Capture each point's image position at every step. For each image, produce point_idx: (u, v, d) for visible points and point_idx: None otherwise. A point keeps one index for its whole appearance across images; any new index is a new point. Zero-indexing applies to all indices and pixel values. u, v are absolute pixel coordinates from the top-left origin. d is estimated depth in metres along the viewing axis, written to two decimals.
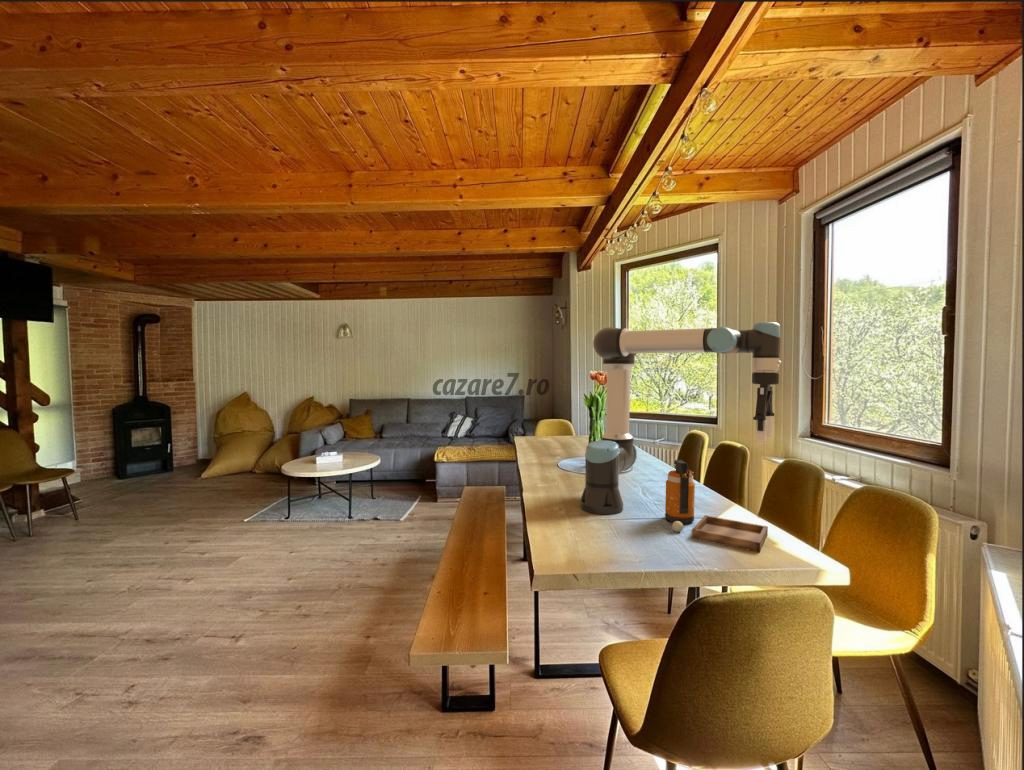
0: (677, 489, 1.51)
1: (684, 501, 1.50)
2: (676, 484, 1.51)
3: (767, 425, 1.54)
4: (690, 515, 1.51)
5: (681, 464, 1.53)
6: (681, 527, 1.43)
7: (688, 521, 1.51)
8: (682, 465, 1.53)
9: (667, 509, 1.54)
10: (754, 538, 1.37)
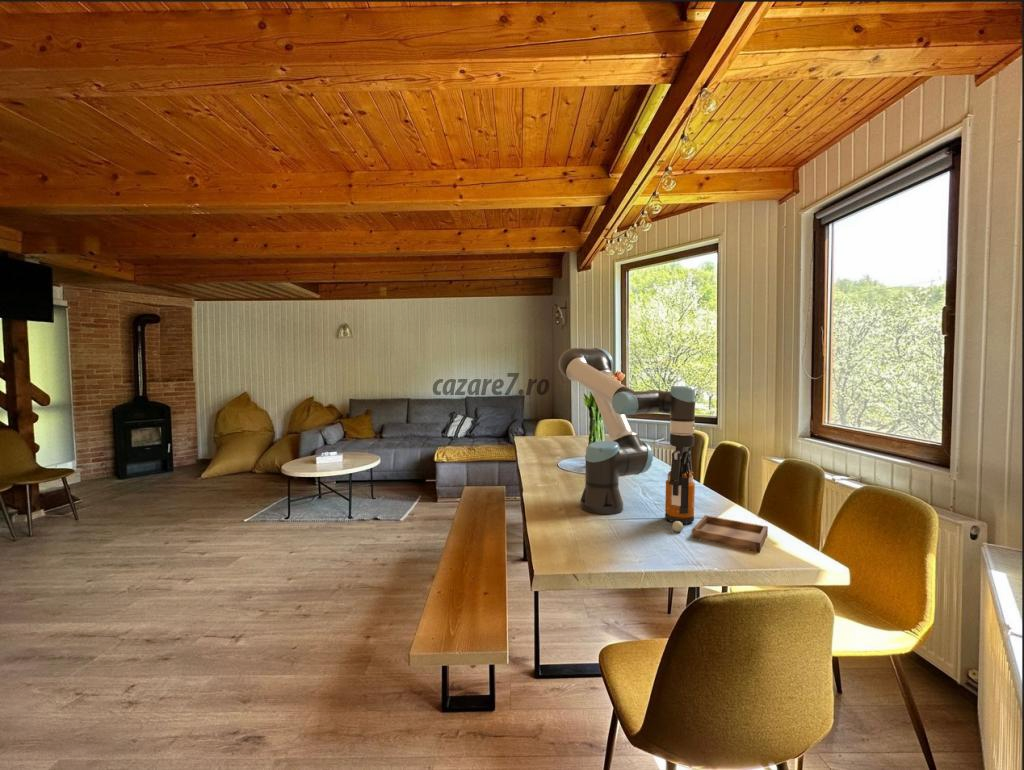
0: None
1: (684, 501, 1.50)
2: None
3: None
4: (690, 515, 1.51)
5: None
6: (681, 527, 1.43)
7: (688, 521, 1.51)
8: None
9: (666, 509, 1.54)
10: (754, 538, 1.37)
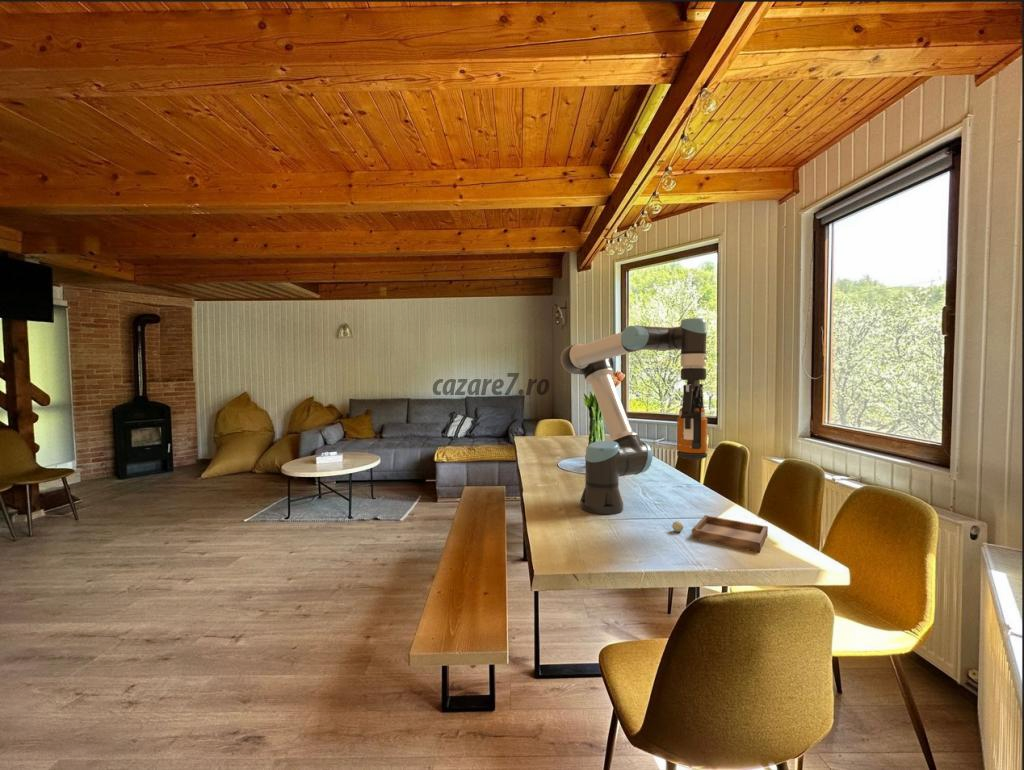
0: None
1: (696, 435, 1.45)
2: None
3: None
4: (703, 450, 1.47)
5: None
6: (681, 527, 1.43)
7: (701, 457, 1.46)
8: None
9: (678, 446, 1.50)
10: (754, 538, 1.37)
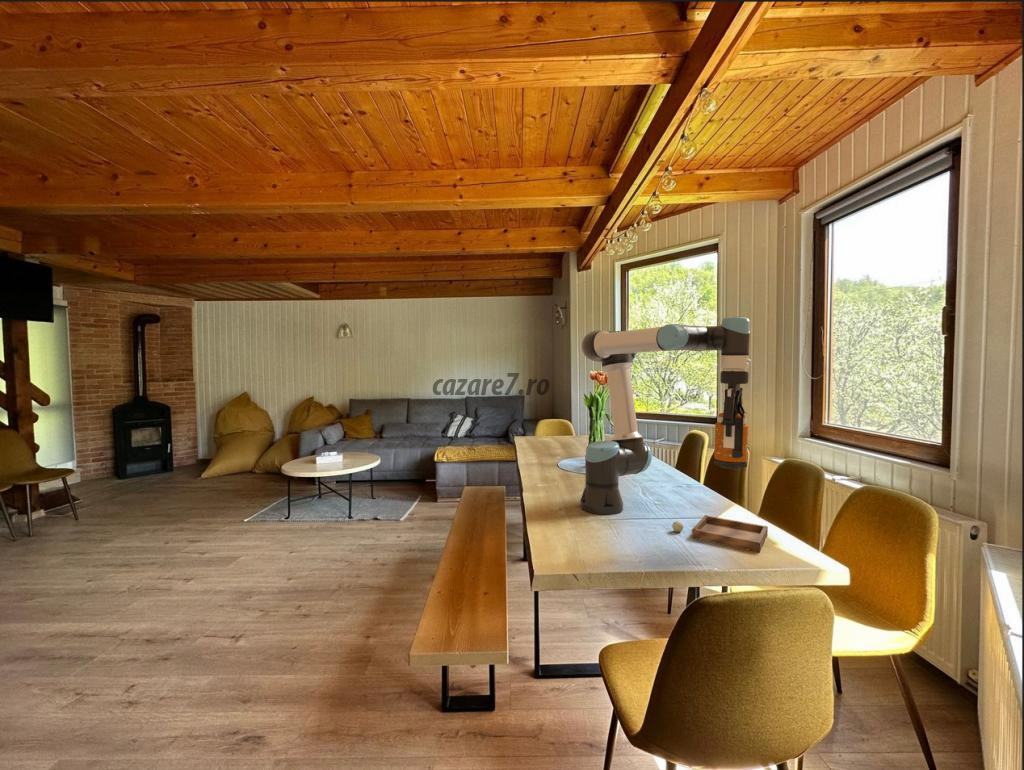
0: None
1: (738, 443, 1.35)
2: None
3: None
4: (744, 460, 1.37)
5: None
6: (681, 527, 1.43)
7: (741, 466, 1.37)
8: None
9: (717, 454, 1.40)
10: (754, 538, 1.37)
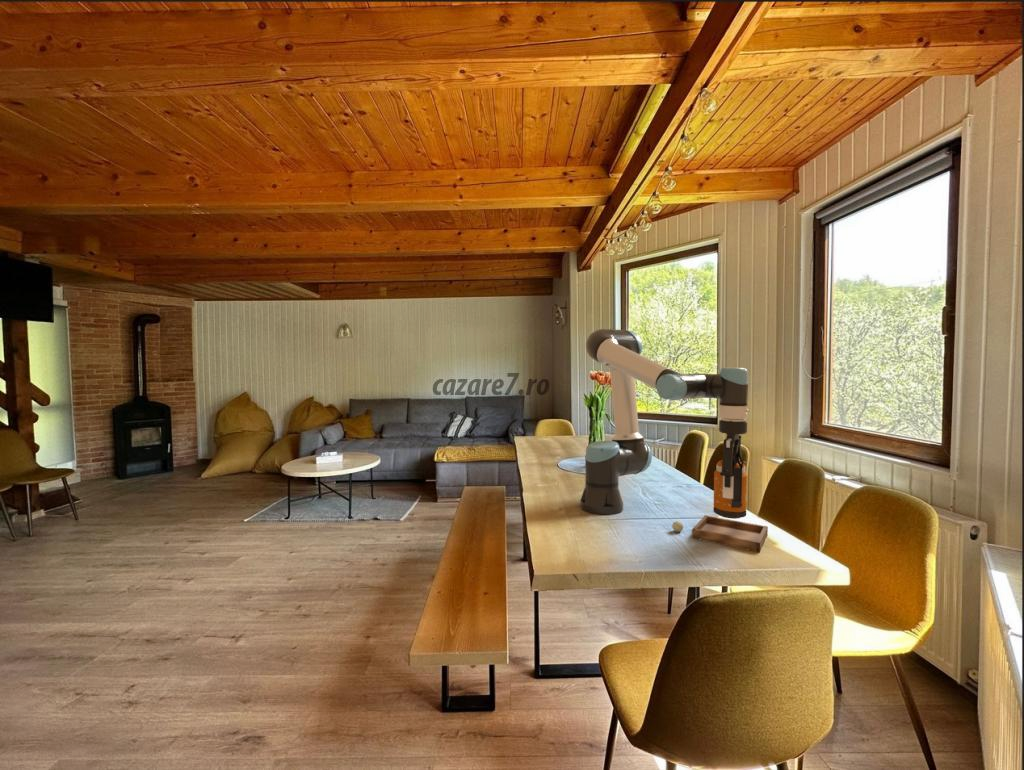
0: None
1: (737, 493, 1.36)
2: None
3: None
4: (743, 509, 1.37)
5: None
6: (681, 527, 1.43)
7: (741, 516, 1.37)
8: None
9: (716, 502, 1.40)
10: (754, 538, 1.37)
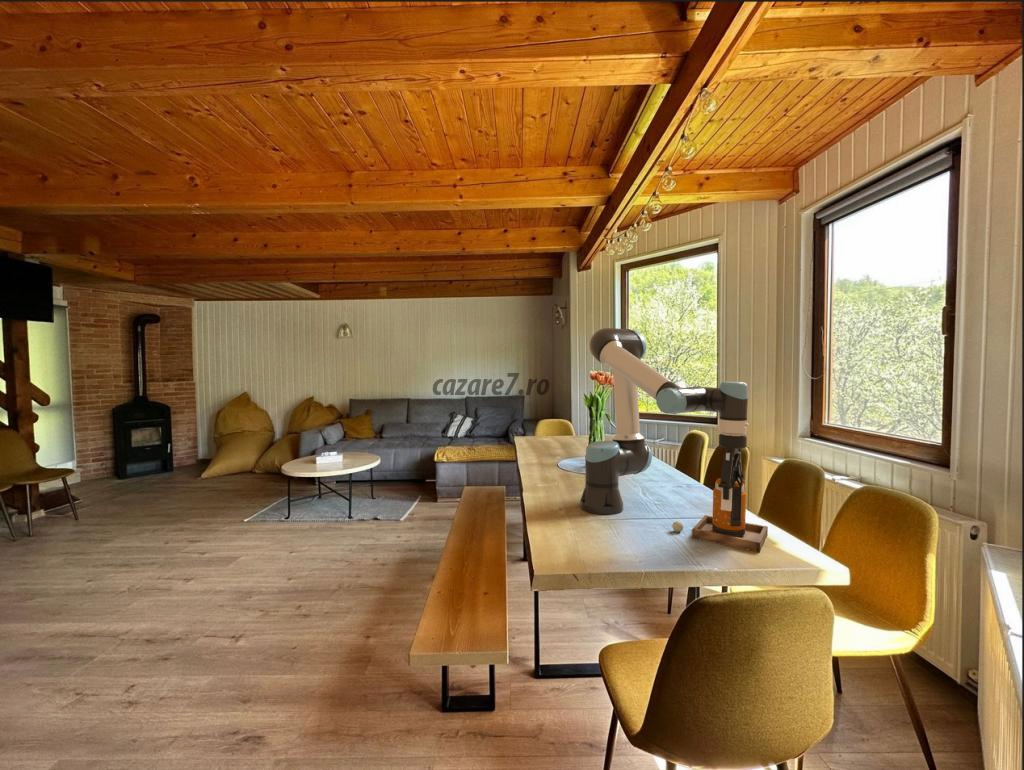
0: None
1: (736, 512, 1.36)
2: None
3: None
4: (742, 527, 1.38)
5: None
6: (681, 527, 1.43)
7: (740, 534, 1.37)
8: None
9: (715, 520, 1.41)
10: (754, 538, 1.37)
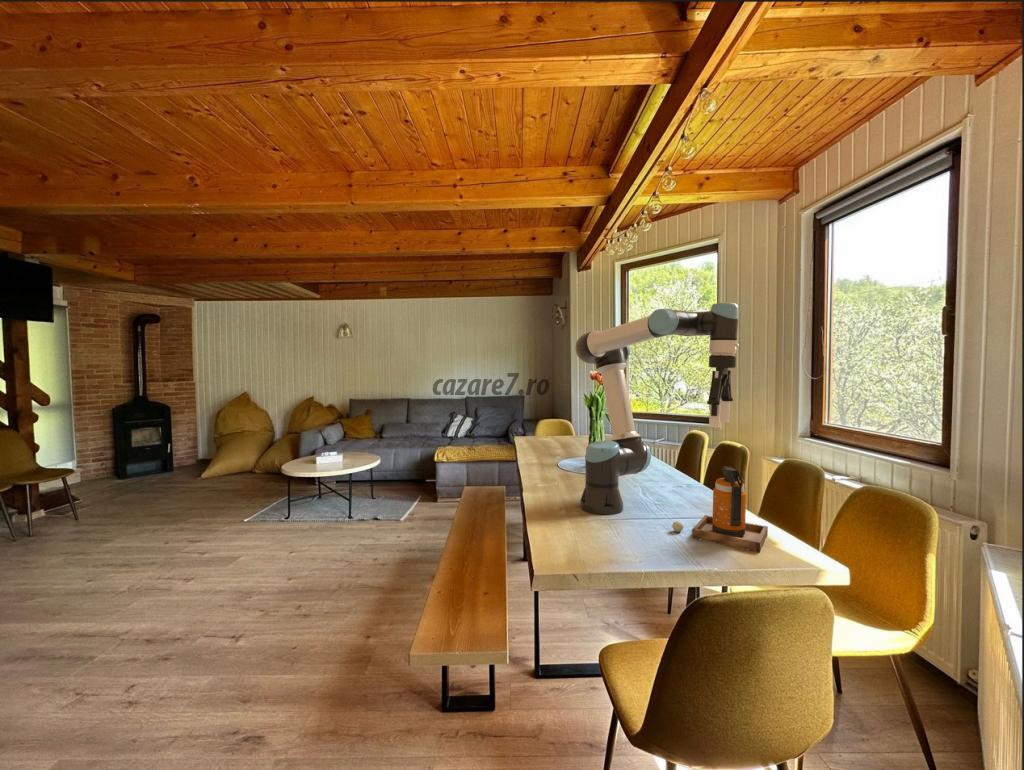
0: (728, 499, 1.37)
1: (736, 512, 1.36)
2: (727, 494, 1.37)
3: (725, 411, 1.49)
4: (742, 527, 1.38)
5: (731, 471, 1.39)
6: (681, 527, 1.43)
7: (740, 534, 1.37)
8: (732, 472, 1.39)
9: (715, 520, 1.41)
10: (754, 538, 1.37)
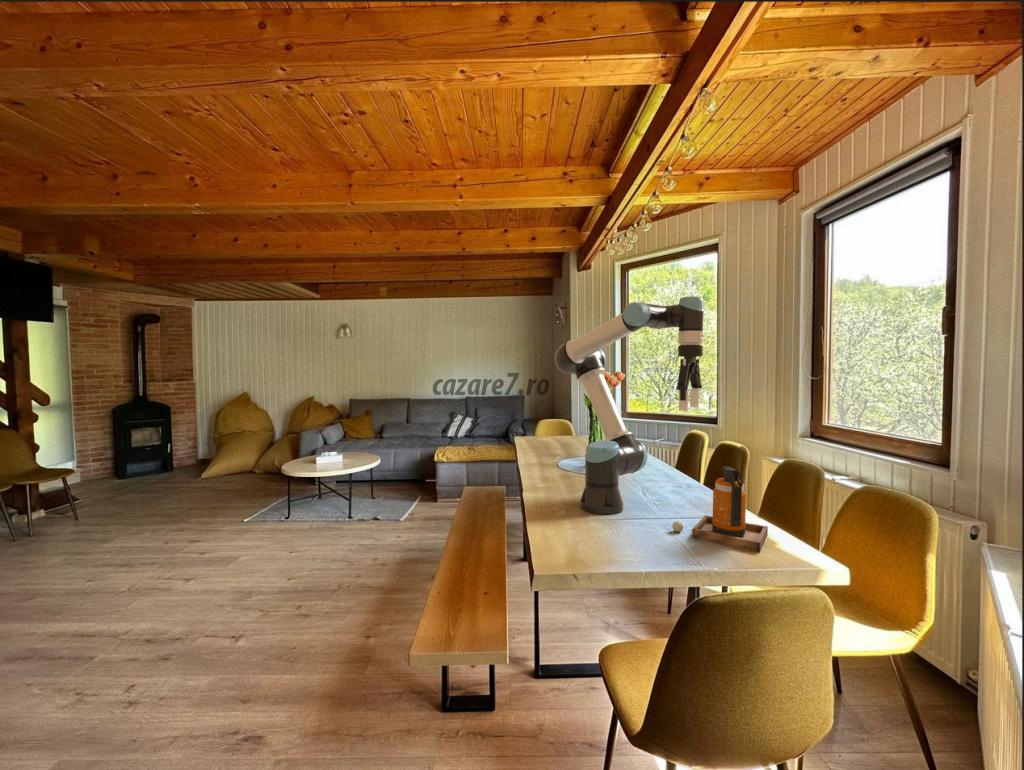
0: (728, 499, 1.37)
1: (736, 512, 1.36)
2: (727, 494, 1.37)
3: (695, 397, 1.60)
4: (742, 527, 1.38)
5: (731, 471, 1.39)
6: (681, 527, 1.43)
7: (740, 534, 1.37)
8: (732, 472, 1.39)
9: (715, 520, 1.41)
10: (754, 538, 1.37)
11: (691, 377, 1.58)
